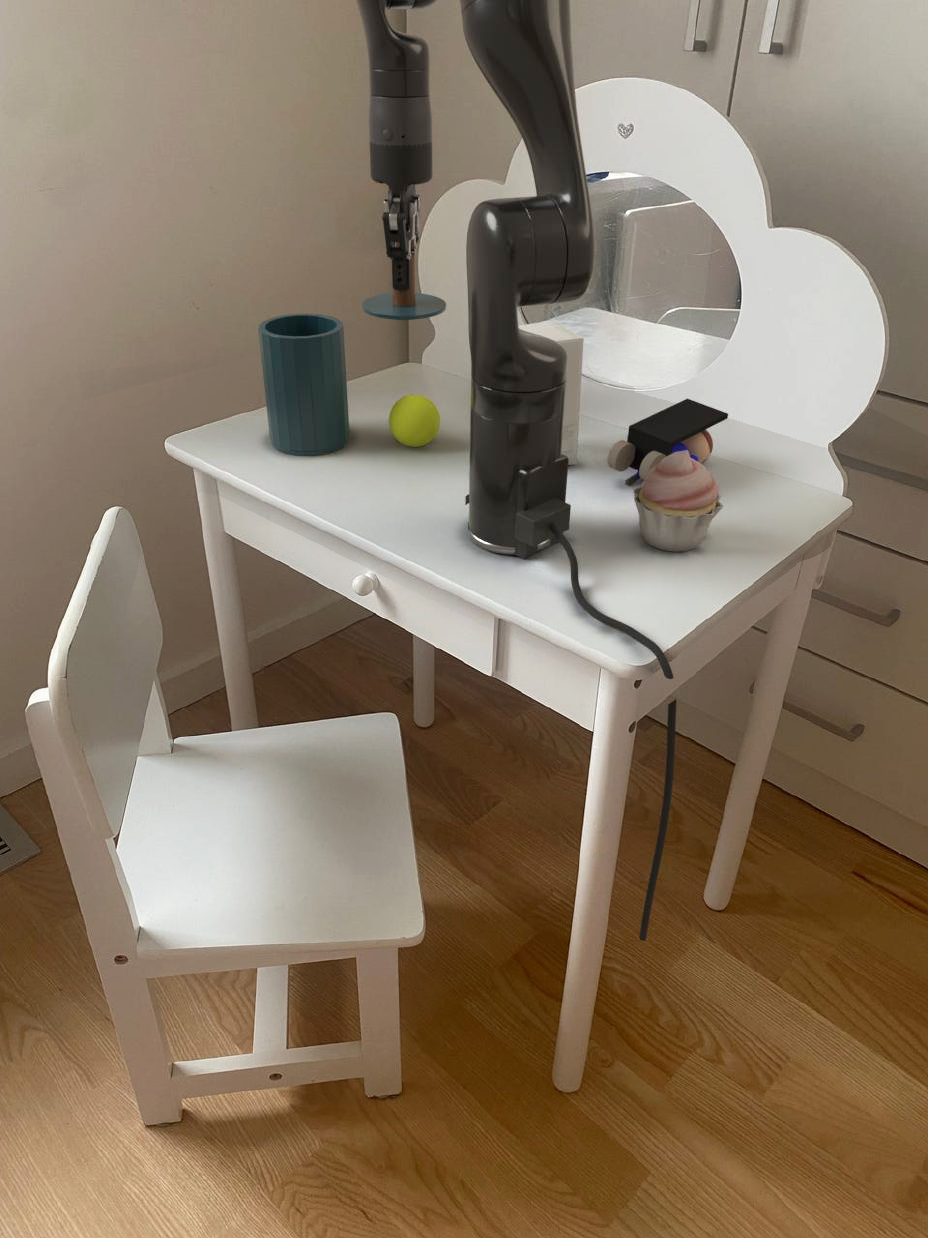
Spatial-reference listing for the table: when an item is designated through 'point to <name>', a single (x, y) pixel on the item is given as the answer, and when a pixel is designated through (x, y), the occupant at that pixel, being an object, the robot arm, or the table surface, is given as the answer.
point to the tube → (305, 383)
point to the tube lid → (404, 302)
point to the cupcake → (677, 503)
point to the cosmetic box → (573, 382)
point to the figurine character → (666, 438)
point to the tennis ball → (414, 420)
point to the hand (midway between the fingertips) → (403, 285)
